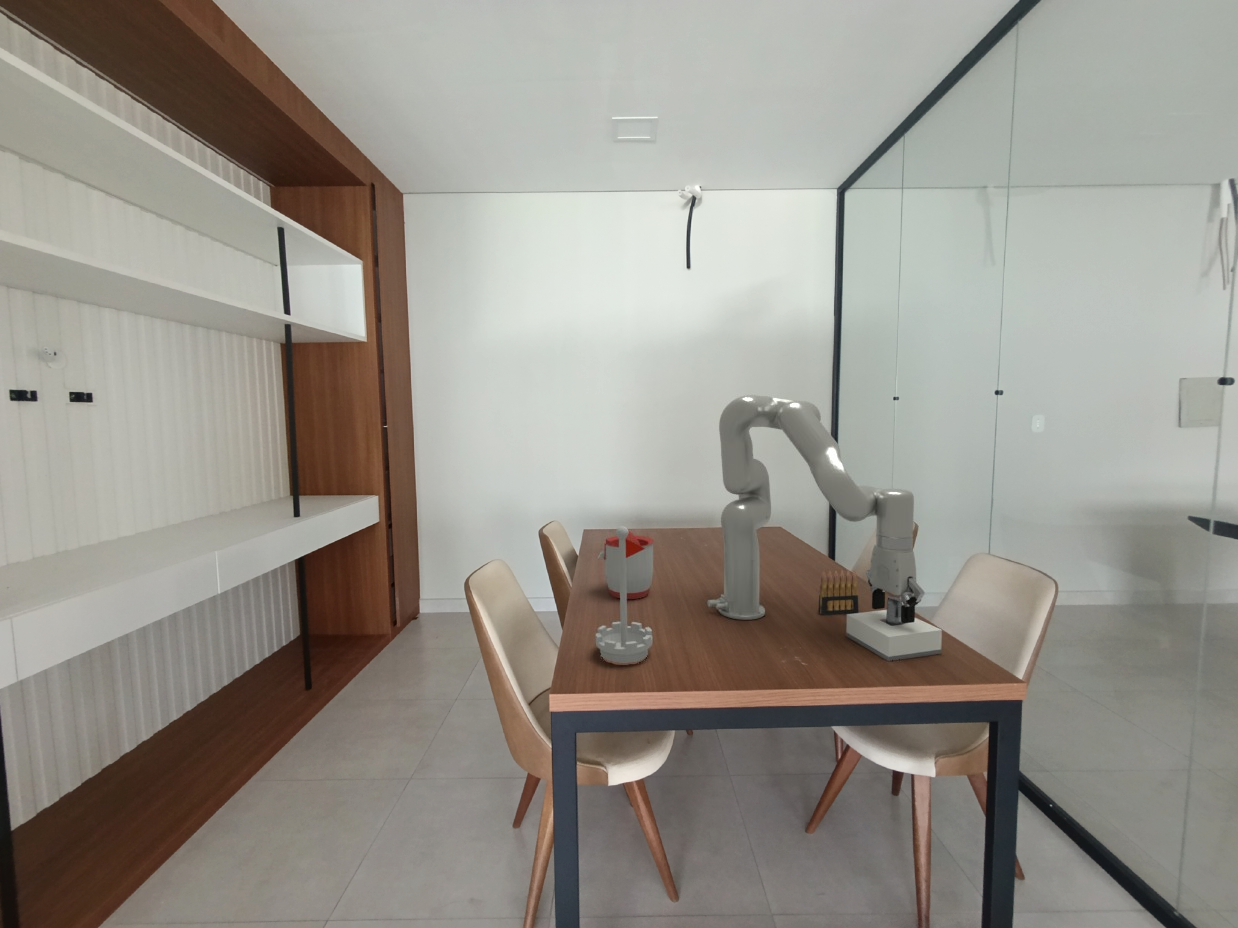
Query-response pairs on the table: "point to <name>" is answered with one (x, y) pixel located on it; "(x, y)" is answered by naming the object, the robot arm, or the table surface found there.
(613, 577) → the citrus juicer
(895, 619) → the pin
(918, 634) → the socket block
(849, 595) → the ammunition clip
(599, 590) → the table surface
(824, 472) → the robot arm
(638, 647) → the flag stand
